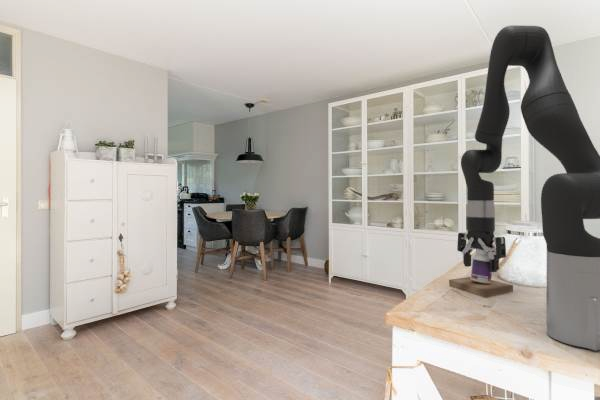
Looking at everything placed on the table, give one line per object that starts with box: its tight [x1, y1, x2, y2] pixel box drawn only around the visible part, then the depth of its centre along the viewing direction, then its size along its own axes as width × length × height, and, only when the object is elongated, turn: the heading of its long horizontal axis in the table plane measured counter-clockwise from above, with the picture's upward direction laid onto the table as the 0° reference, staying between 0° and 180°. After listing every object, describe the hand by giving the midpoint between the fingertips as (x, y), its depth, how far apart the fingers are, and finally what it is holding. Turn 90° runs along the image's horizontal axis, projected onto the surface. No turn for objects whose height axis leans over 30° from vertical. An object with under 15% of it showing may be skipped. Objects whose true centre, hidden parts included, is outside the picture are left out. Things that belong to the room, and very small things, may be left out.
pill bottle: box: [470, 249, 493, 284], centre depth 96 cm, size 5×5×10 cm
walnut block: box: [448, 276, 514, 299], centre depth 96 cm, size 12×12×3 cm
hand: (480, 269), depth 96 cm, fingers open, 8 cm apart
